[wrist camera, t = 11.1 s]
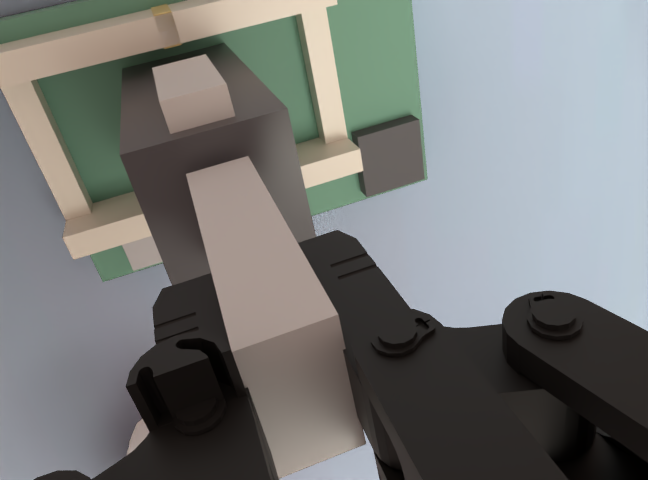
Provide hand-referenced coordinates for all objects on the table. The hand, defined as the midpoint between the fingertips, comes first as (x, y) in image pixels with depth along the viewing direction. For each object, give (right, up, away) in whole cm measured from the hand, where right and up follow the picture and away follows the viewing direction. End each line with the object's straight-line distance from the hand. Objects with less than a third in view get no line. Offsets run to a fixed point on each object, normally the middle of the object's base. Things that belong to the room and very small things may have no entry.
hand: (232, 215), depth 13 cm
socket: (-3, +5, +9) cm, 11 cm away
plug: (-3, +5, +9) cm, 11 cm away
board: (-2, +5, +11) cm, 12 cm away
